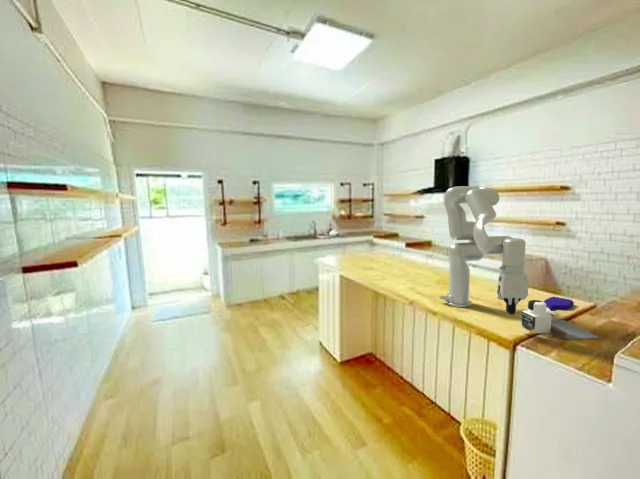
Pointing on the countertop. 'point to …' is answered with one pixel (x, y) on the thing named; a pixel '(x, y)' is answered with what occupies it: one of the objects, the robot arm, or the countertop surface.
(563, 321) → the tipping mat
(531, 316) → the medicine bottle
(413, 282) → the countertop surface
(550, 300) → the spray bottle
